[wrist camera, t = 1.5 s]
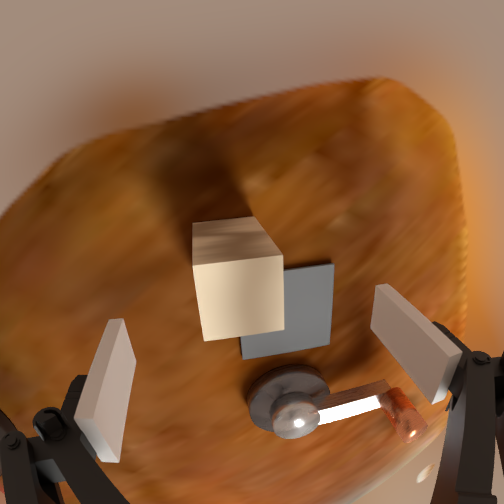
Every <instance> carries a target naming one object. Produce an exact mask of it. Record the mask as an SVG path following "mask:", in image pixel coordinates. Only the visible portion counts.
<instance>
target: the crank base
mask: <svg viewBox="0 0 504 504" xmlns="http://www.w3.org/2000/svg"><path fill="white" fill-rule="evenodd" d="M291 393H306V394H308V395H310V396H311V397H312V398H317V397H321V396H325V395H329V394H330V390H329V388H328V386H327V384H326V382H325V380H324V379H323V377H322V375H321V374H320V373H319V372H318V371H317V370H316V369H314V368H312V367H309V366H306V365H287V366H282V367H279V368H276V369H274V370H271V371H269V372H267V373H266V374H264V375H263V376H261V377H260V378H259V379H258V380H257V381H256V382H255V383H254V384H253V385H252V386H251V388H250V390H249V392H248V395H247V404H248V408H249V412H250V417H251V419H252V421H253V422H254V424H255V425H256V426H258V427H259V428H261V429H264V430H267V431H271V432H274V429H273V425H272V422H271V419H270V415H269V410H270V407H271V406H272V404H273V403H274V402H275V401H276V400H278V399H279V398H281V397H283V396H285V395H288V394H291Z"/></svg>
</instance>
